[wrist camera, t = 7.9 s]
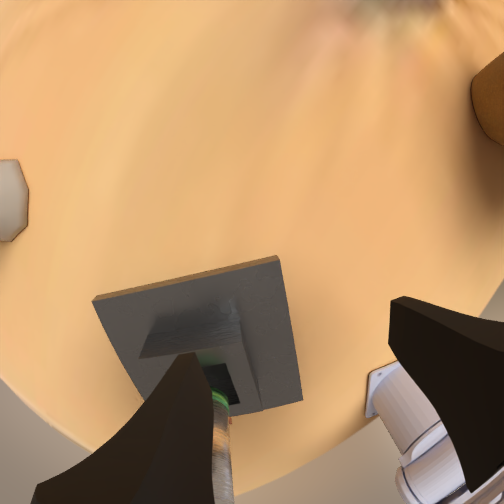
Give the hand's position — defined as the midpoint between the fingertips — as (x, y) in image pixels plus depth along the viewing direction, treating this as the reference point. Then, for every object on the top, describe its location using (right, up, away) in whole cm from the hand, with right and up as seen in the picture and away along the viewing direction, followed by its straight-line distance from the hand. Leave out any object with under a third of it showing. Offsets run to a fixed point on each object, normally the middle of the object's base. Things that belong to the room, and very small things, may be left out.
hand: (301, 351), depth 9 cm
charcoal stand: (-5, -5, +12) cm, 14 cm away
